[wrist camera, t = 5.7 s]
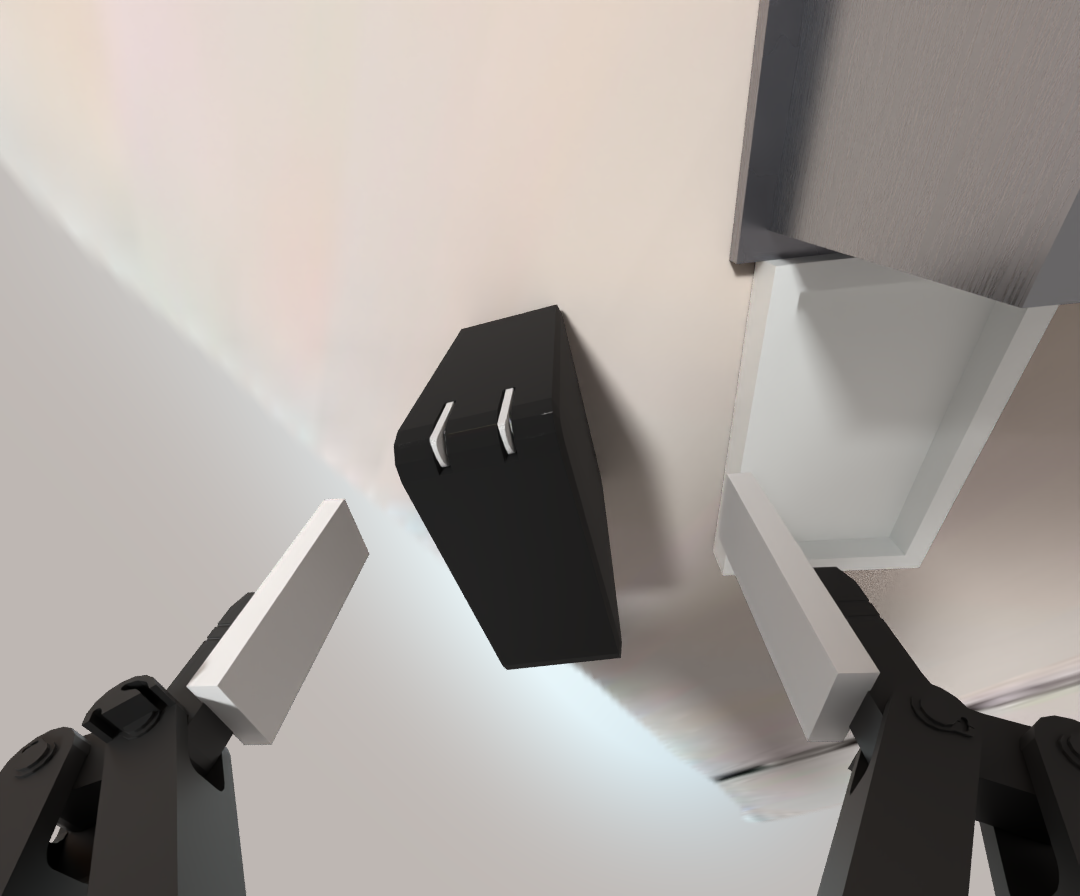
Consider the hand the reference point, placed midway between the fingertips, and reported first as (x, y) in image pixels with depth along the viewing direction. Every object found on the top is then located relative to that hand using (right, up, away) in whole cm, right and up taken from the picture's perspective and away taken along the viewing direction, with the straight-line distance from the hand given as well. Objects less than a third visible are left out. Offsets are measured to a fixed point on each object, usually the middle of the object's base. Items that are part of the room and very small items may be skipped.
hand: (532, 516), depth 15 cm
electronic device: (0, +4, +6) cm, 7 cm away
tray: (+14, +3, +5) cm, 16 cm away
